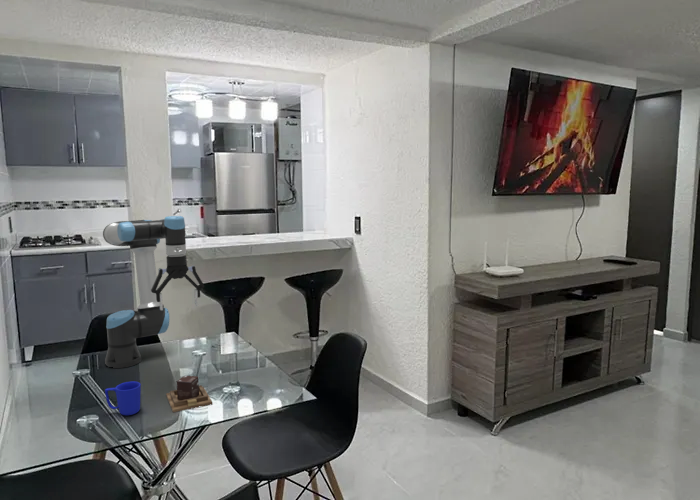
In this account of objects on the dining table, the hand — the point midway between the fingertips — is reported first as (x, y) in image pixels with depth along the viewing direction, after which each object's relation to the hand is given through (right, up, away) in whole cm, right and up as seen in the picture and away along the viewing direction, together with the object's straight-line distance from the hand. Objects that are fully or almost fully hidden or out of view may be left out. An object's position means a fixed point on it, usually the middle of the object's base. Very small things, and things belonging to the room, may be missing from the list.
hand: (179, 307), depth 207 cm
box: (+7, -33, -12) cm, 36 cm away
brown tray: (+8, -34, -12) cm, 36 cm away
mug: (-12, -35, -22) cm, 43 cm away
